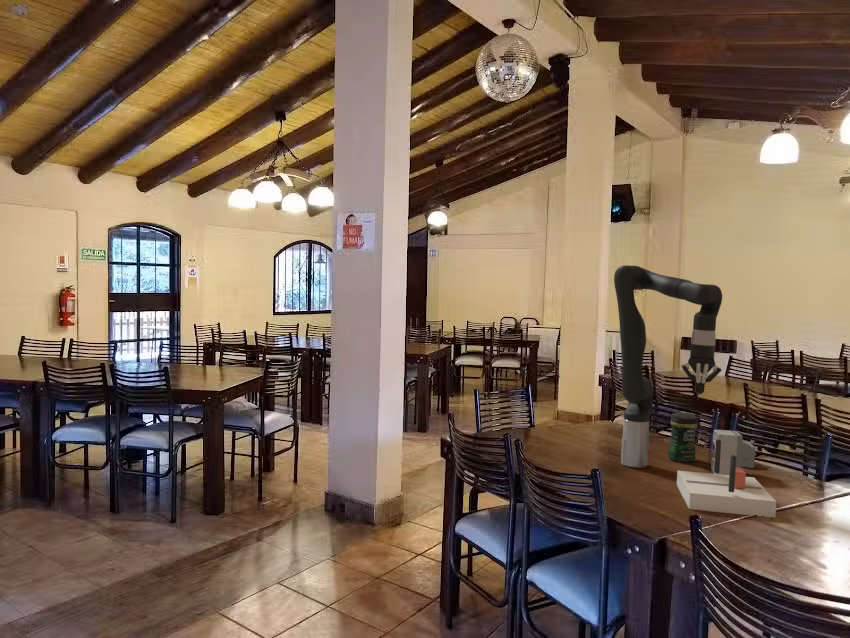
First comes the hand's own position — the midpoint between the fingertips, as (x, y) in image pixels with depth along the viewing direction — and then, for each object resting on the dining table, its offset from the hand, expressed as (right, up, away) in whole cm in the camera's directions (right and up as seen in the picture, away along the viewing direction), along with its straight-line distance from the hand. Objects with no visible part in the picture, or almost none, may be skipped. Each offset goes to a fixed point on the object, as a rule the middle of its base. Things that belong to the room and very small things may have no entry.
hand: (699, 393), depth 217 cm
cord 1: (+4, -27, -4) cm, 27 cm away
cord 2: (-1, -28, -24) cm, 36 cm away
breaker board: (+2, -32, -14) cm, 35 cm away
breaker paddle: (+6, -27, -15) cm, 32 cm away
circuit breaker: (+20, -31, +16) cm, 40 cm away
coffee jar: (+7, -30, +32) cm, 45 cm away
